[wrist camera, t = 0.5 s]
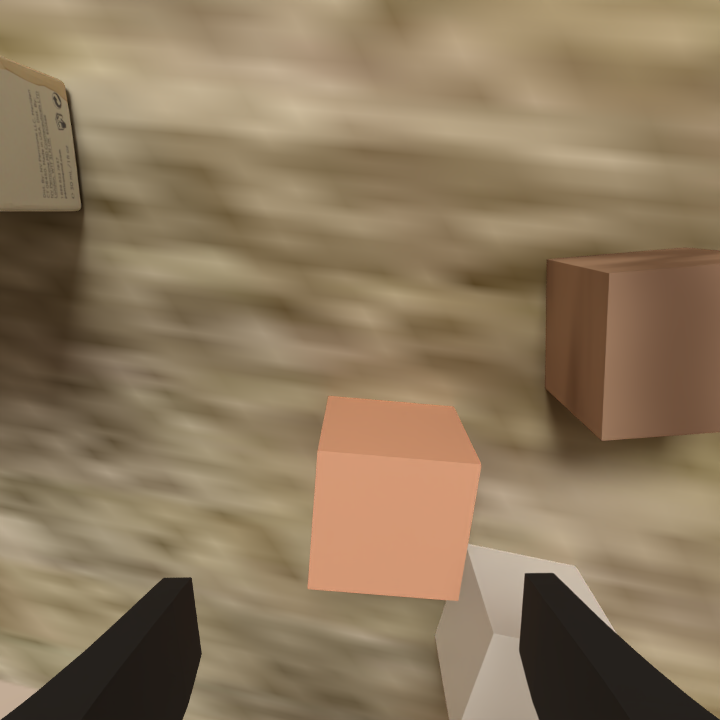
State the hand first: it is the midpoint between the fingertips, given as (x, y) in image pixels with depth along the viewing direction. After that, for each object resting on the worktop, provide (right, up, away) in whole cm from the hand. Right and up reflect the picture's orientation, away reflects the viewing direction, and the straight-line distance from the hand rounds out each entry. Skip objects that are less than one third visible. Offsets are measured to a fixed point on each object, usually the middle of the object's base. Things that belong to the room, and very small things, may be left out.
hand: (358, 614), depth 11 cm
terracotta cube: (+1, +1, +10) cm, 10 cm away
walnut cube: (+10, +7, +8) cm, 15 cm away
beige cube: (+6, -5, +12) cm, 14 cm away
